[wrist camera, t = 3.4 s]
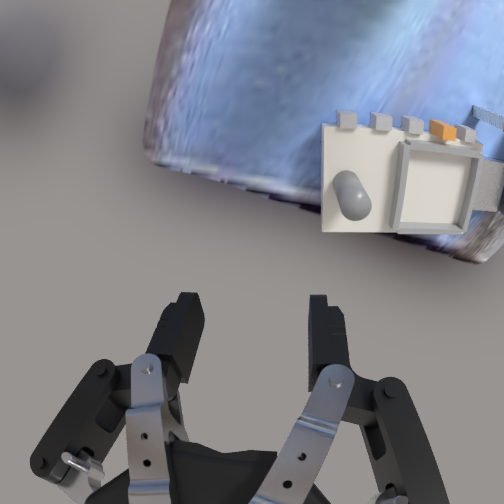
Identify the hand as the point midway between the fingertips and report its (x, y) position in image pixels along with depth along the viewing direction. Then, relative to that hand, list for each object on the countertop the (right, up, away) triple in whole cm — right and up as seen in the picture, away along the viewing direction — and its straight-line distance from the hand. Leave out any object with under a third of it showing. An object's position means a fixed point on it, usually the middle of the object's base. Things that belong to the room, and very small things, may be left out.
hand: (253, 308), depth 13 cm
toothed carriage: (+14, +10, +11) cm, 20 cm away
